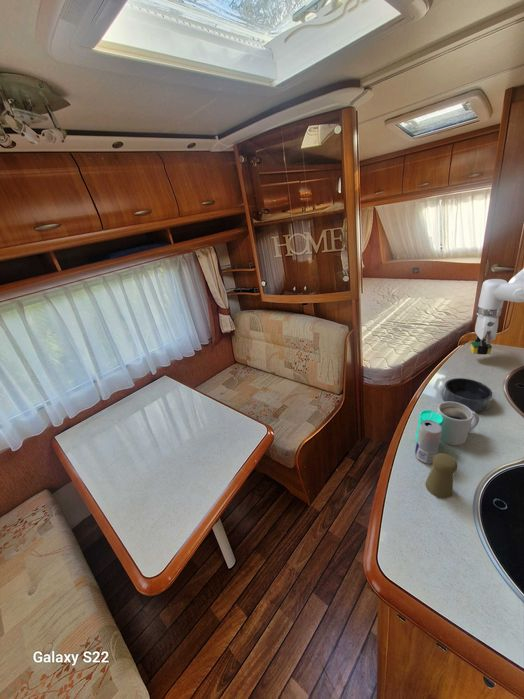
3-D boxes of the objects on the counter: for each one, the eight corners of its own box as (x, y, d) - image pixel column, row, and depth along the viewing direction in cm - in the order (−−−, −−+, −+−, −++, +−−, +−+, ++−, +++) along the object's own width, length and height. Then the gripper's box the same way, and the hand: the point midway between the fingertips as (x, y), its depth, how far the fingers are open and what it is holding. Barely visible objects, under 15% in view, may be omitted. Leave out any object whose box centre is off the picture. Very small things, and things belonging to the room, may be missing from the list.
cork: (422, 476, 75) (428, 448, 70) (447, 478, 74) (454, 449, 69) (429, 497, 70) (436, 468, 65) (456, 499, 68) (465, 470, 63)
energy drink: (426, 447, 83) (432, 417, 78) (439, 461, 78) (447, 430, 73) (410, 451, 83) (415, 422, 77) (423, 466, 78) (429, 435, 72)
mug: (430, 438, 86) (435, 414, 81) (435, 420, 92) (440, 396, 88) (473, 452, 80) (481, 426, 75) (475, 431, 86) (482, 407, 82)
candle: (411, 436, 88) (416, 407, 82) (429, 434, 88) (435, 404, 82) (422, 451, 82) (428, 421, 77) (441, 448, 82) (449, 418, 77)
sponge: (486, 349, 117) (488, 342, 115) (490, 354, 113) (492, 346, 112) (469, 349, 119) (471, 341, 118) (472, 353, 116) (474, 346, 114)
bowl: (481, 392, 102) (485, 380, 99) (494, 416, 91) (498, 403, 88) (439, 388, 107) (441, 376, 104) (446, 410, 96) (449, 398, 93)
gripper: (508, 318, 100) (497, 361, 108) (493, 303, 114) (484, 342, 122) (483, 318, 103) (474, 360, 111) (471, 304, 117) (464, 342, 125)
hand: (479, 350), depth 116 cm, fingers closed on sponge, 4 cm apart
